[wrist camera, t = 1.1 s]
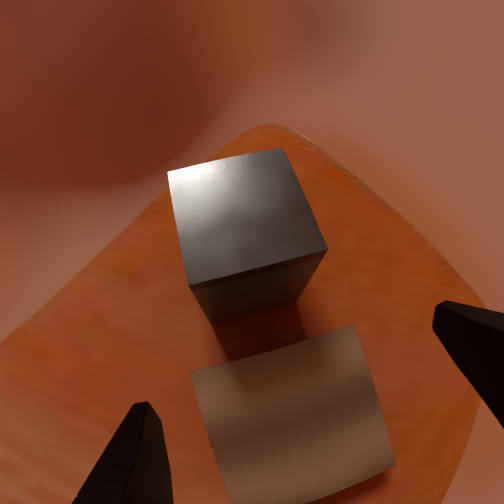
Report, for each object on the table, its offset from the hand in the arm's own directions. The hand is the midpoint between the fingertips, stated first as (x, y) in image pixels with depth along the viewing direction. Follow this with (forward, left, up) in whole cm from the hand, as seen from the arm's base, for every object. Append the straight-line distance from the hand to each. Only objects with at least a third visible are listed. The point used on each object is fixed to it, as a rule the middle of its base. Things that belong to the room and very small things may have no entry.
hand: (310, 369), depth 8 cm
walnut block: (-3, +2, -14) cm, 14 cm away
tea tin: (+6, -6, -14) cm, 16 cm away
